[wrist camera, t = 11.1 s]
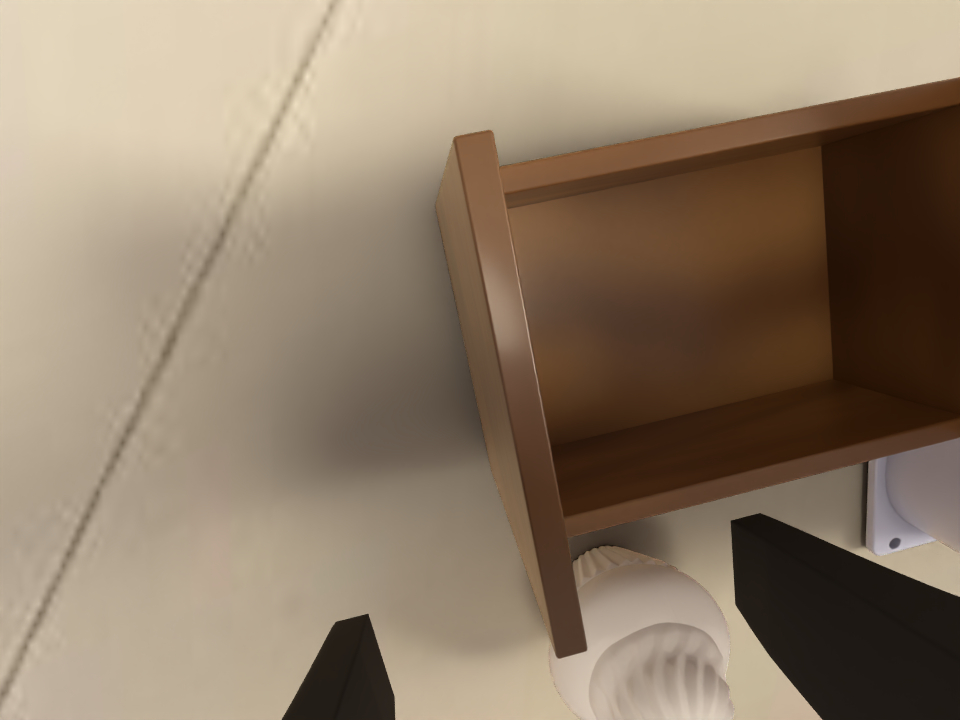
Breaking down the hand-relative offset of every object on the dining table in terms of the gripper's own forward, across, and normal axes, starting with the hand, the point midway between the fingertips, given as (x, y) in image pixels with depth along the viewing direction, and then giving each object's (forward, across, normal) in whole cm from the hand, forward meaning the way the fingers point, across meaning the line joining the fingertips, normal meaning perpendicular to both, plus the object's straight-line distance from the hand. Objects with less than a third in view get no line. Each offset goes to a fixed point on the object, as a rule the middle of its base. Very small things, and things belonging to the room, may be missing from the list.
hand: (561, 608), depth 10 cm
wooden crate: (+8, -6, -3) cm, 11 cm away
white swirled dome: (+9, -3, +7) cm, 12 cm away
